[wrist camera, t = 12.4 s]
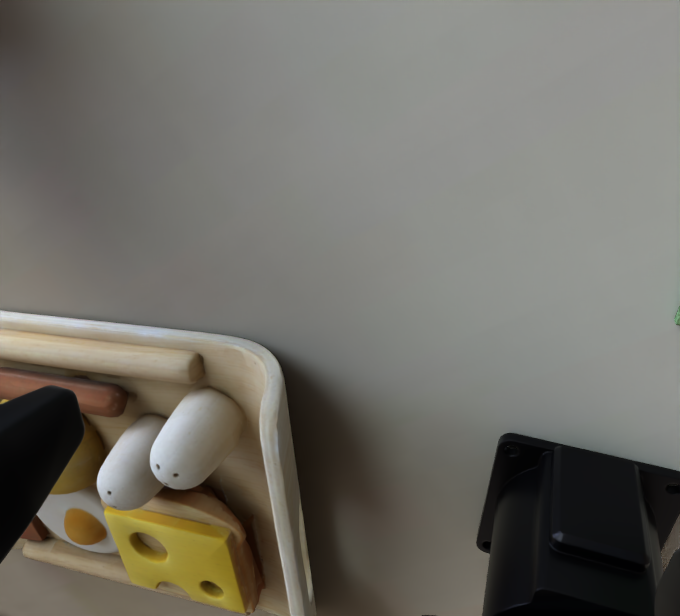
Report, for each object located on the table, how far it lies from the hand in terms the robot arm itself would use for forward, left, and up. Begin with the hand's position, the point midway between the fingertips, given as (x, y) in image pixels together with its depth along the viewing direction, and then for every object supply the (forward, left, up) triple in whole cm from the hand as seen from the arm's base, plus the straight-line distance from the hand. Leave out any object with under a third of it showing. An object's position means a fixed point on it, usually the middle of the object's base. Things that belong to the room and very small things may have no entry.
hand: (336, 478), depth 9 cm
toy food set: (-17, +16, -12) cm, 26 cm away
